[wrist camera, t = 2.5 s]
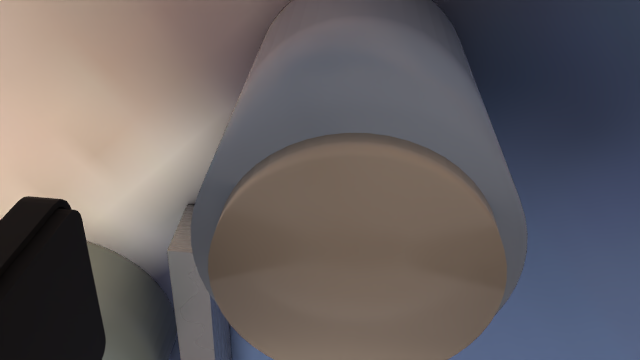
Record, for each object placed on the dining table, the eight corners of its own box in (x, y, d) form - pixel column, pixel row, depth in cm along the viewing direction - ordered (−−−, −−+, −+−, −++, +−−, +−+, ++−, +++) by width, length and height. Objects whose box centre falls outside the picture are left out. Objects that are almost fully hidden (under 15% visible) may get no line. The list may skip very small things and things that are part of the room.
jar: (255, -32, 13) (162, 112, 7) (485, -17, 13) (583, 142, 7) (258, 163, 16) (193, 382, 10) (447, 177, 16) (495, 408, 10)
